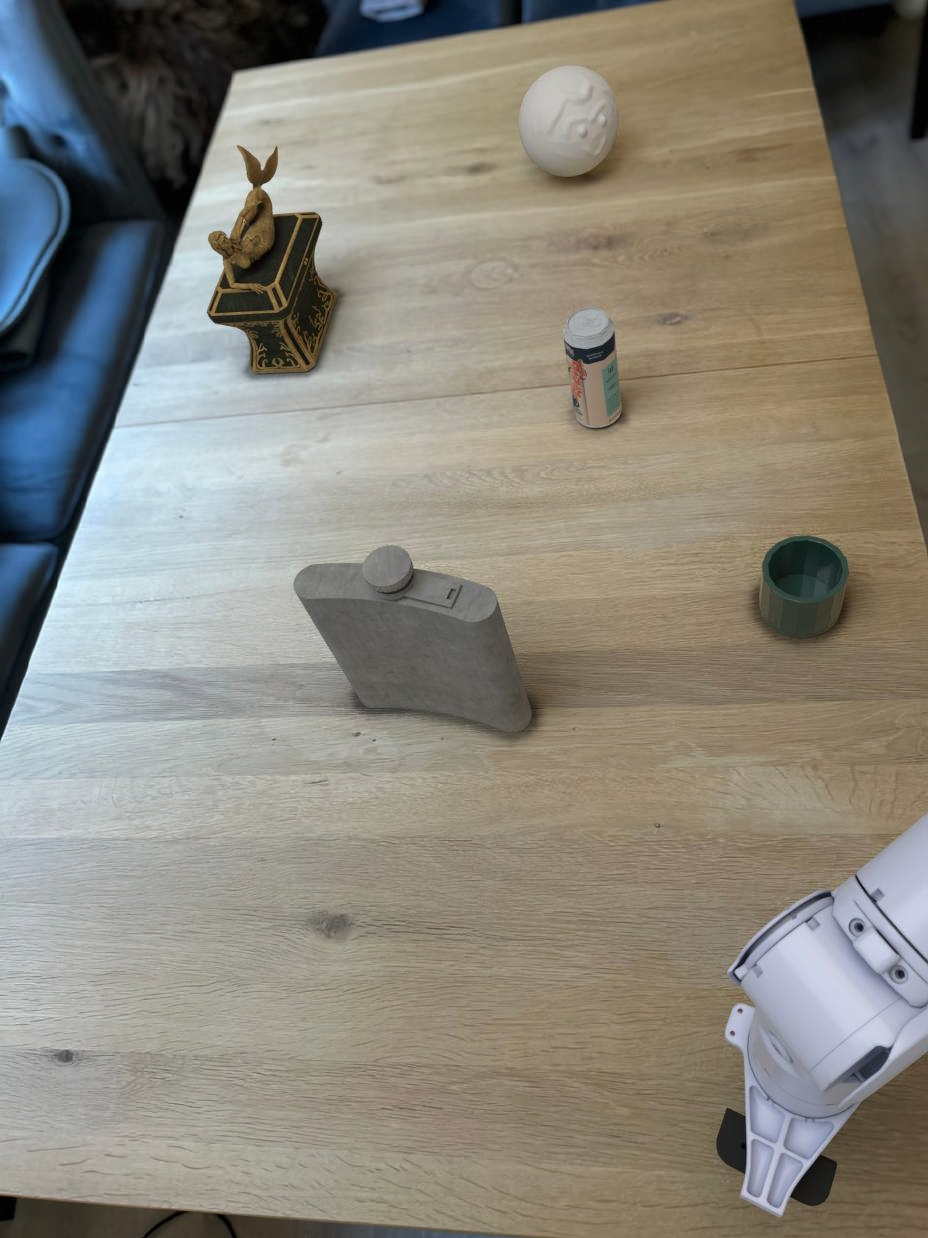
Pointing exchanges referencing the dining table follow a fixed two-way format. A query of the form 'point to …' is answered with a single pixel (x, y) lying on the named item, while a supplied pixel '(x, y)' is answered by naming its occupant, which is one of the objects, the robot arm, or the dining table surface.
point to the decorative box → (272, 280)
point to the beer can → (593, 367)
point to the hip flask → (417, 638)
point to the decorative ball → (568, 121)
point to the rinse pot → (802, 586)
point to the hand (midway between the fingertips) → (793, 1082)
